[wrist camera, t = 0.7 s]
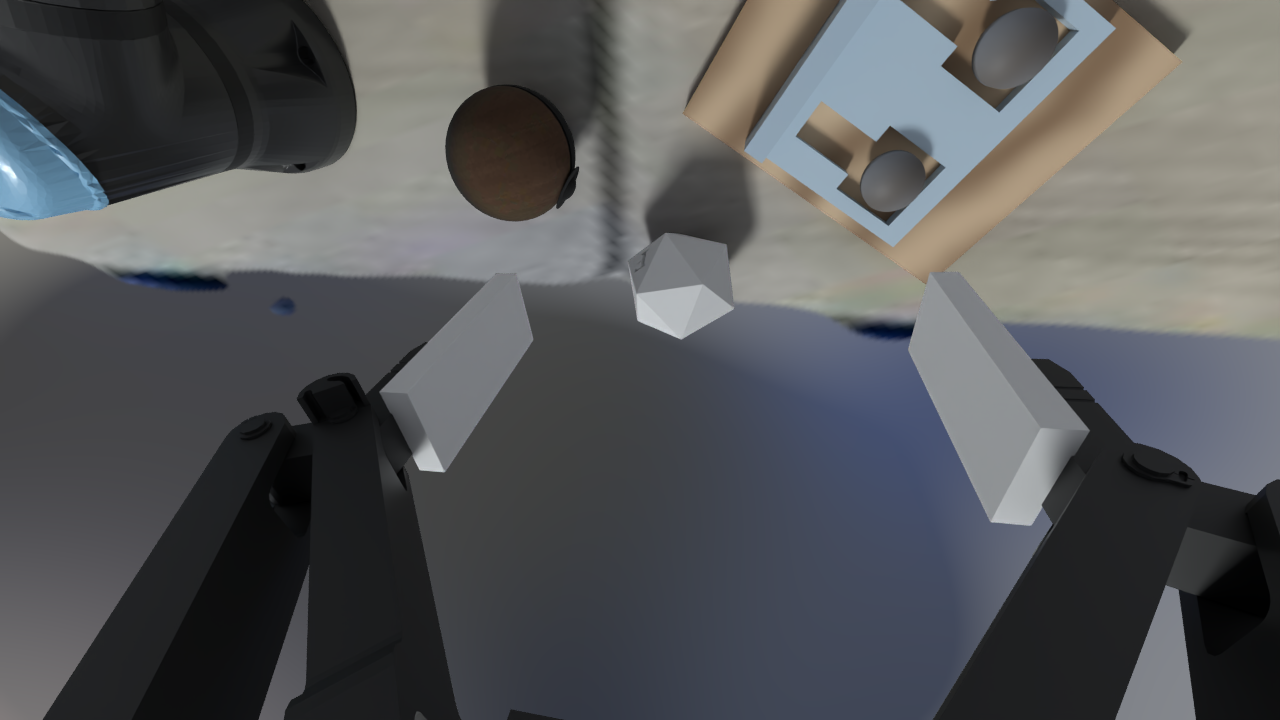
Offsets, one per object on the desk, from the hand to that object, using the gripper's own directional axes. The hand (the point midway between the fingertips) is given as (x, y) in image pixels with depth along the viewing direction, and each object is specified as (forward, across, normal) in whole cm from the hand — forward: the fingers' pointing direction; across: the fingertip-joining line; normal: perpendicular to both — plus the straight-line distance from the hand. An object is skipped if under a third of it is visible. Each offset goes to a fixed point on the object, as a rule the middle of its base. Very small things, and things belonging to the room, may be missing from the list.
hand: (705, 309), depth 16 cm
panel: (+25, +11, +3) cm, 28 cm away
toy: (+27, -16, +1) cm, 31 cm away
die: (+27, -4, -10) cm, 29 cm away
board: (+26, +12, +3) cm, 29 cm away
